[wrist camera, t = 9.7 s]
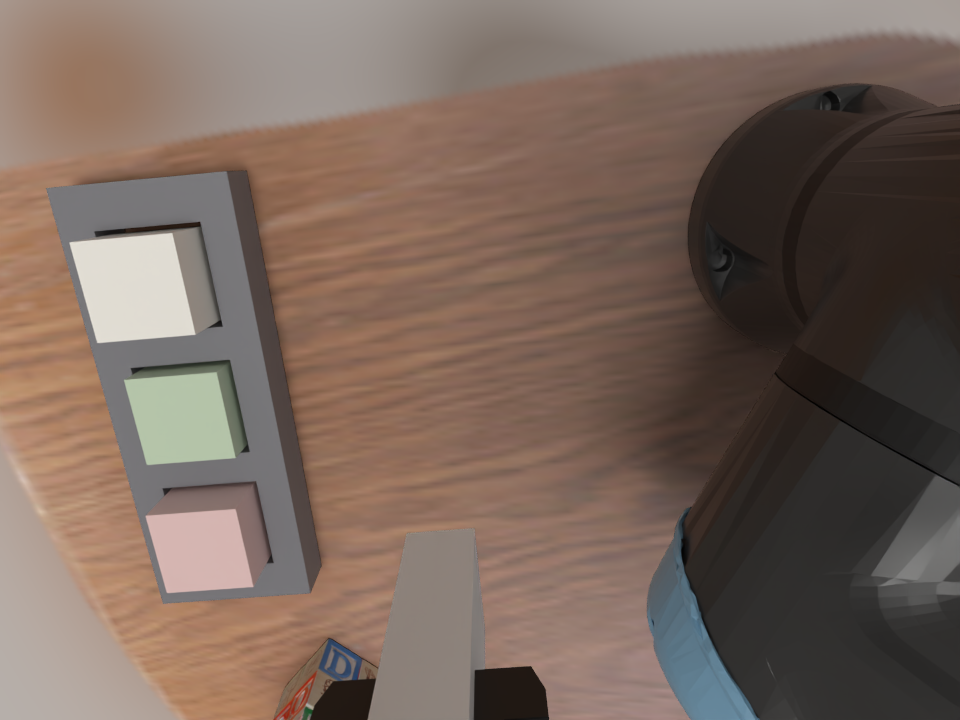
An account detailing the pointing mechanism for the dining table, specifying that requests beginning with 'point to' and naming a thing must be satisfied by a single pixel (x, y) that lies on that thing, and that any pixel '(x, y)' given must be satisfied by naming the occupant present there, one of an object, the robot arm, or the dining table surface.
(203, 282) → the white button
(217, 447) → the sage button
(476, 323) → the dining table surface
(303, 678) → the stack of blocks
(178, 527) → the rose button
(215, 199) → the button panel
